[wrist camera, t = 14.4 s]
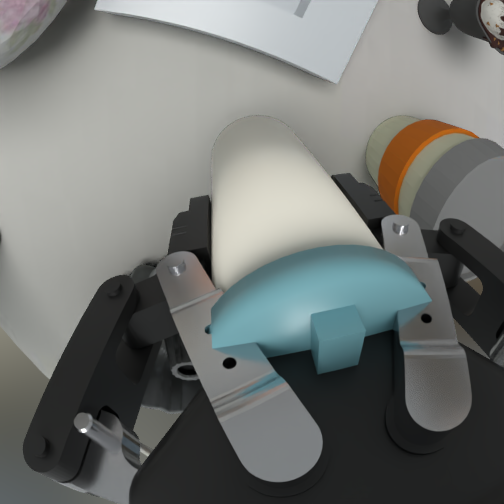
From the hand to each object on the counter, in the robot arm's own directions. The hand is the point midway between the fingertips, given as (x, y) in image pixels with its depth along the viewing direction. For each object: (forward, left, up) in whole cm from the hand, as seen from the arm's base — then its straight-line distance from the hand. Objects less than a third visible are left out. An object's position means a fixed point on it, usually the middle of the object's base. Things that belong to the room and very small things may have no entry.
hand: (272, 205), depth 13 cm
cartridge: (0, 0, -5) cm, 5 cm away
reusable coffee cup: (+18, +3, -18) cm, 26 cm away
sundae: (+14, +20, -18) cm, 31 cm away
